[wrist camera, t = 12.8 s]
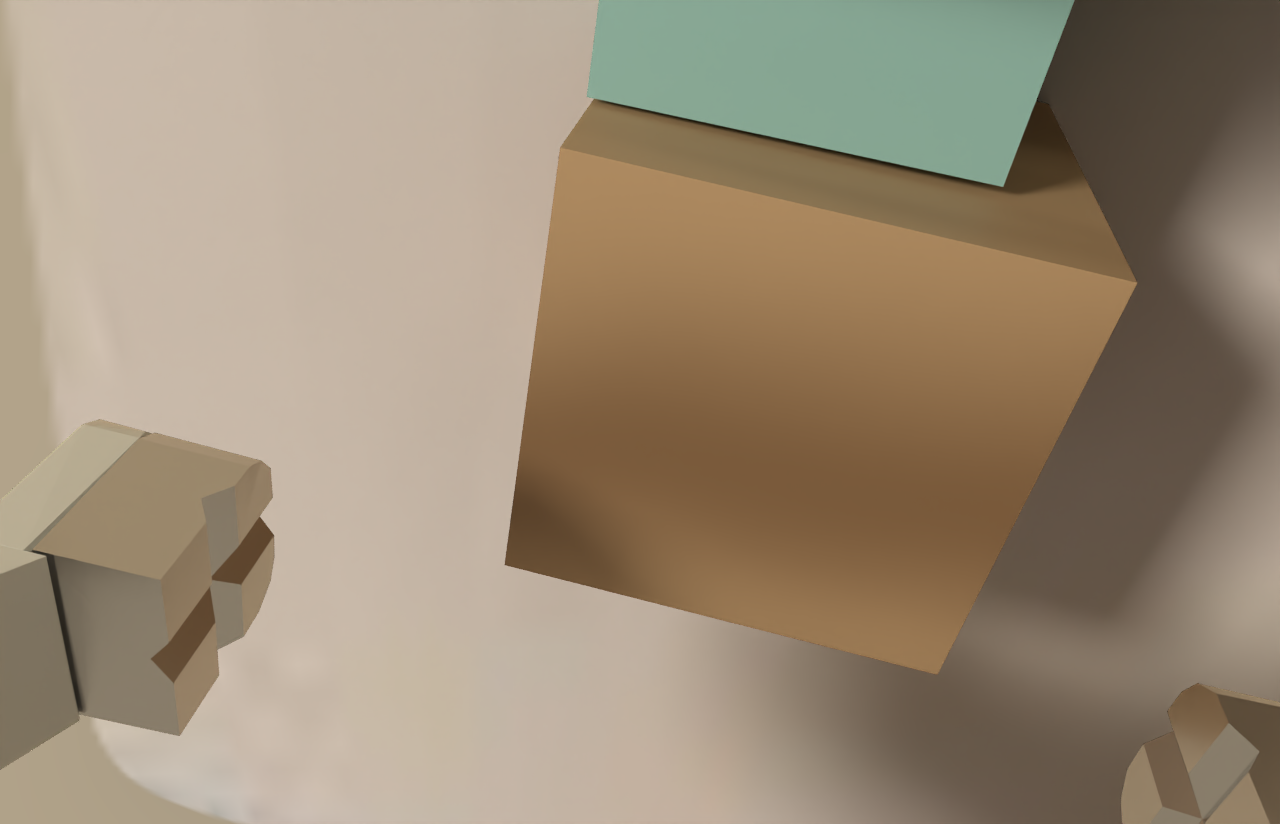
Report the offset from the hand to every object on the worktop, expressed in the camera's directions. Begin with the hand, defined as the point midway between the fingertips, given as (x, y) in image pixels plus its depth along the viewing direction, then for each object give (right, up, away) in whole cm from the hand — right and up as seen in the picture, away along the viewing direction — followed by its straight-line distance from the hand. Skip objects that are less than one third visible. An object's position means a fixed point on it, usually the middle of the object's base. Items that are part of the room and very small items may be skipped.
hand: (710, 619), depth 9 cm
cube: (+2, +4, +5) cm, 7 cm away
